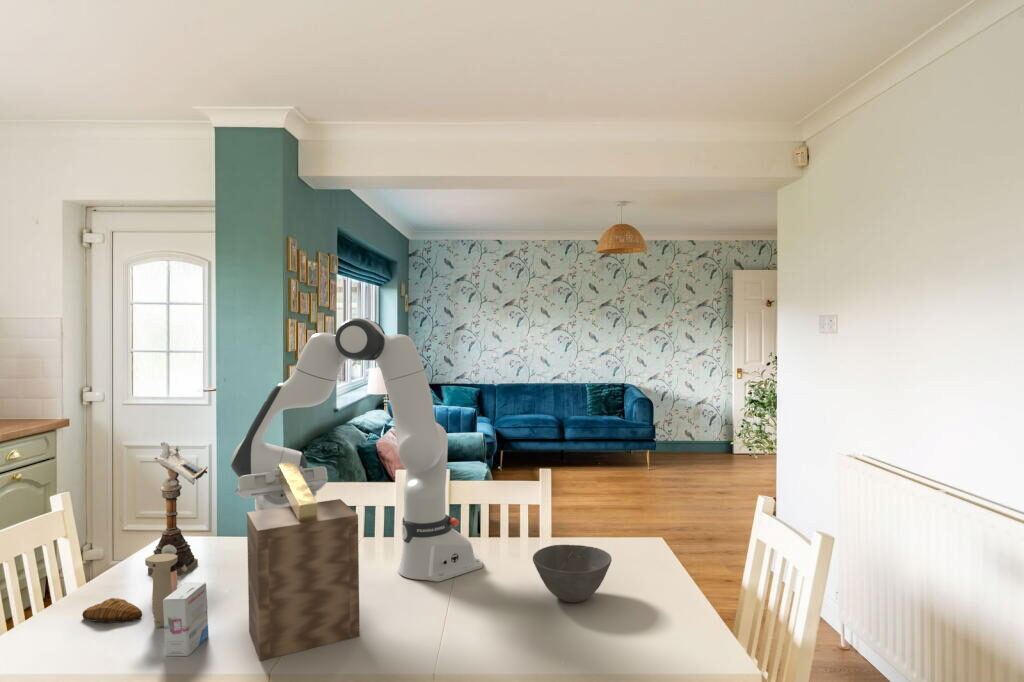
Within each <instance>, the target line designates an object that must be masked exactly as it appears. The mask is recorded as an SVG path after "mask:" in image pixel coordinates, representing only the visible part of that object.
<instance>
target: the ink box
mask: <svg viewBox="0 0 1024 682" xmlns="http://www.w3.org/2000/svg"><path fill="white" fill-rule="evenodd" d="M207 593H208V591H207V582H206V581H205V582H204V581H203V582H200V581H199V582H185V583H183V584H181V585H180V586H179V587H177V589H176V590H175V591H174V592H173V593H171V594H170V595H169V596H167V597H166V598H165V599H163V613H164V627H163V628H164V630H163V631H164V649H165V652H164V653H165V656H166V657H188V656H190V655H191V654H192V653H193V652H194V651H195V650H196V649H197V648H198V647H199V646H200V645H201V644H202V643H203V642H204V641H205V640H206V639H207V638H208V637H209V619H208V617H209V616H208V614H209V613H208V596H207V595H208V594H207Z"/></svg>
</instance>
